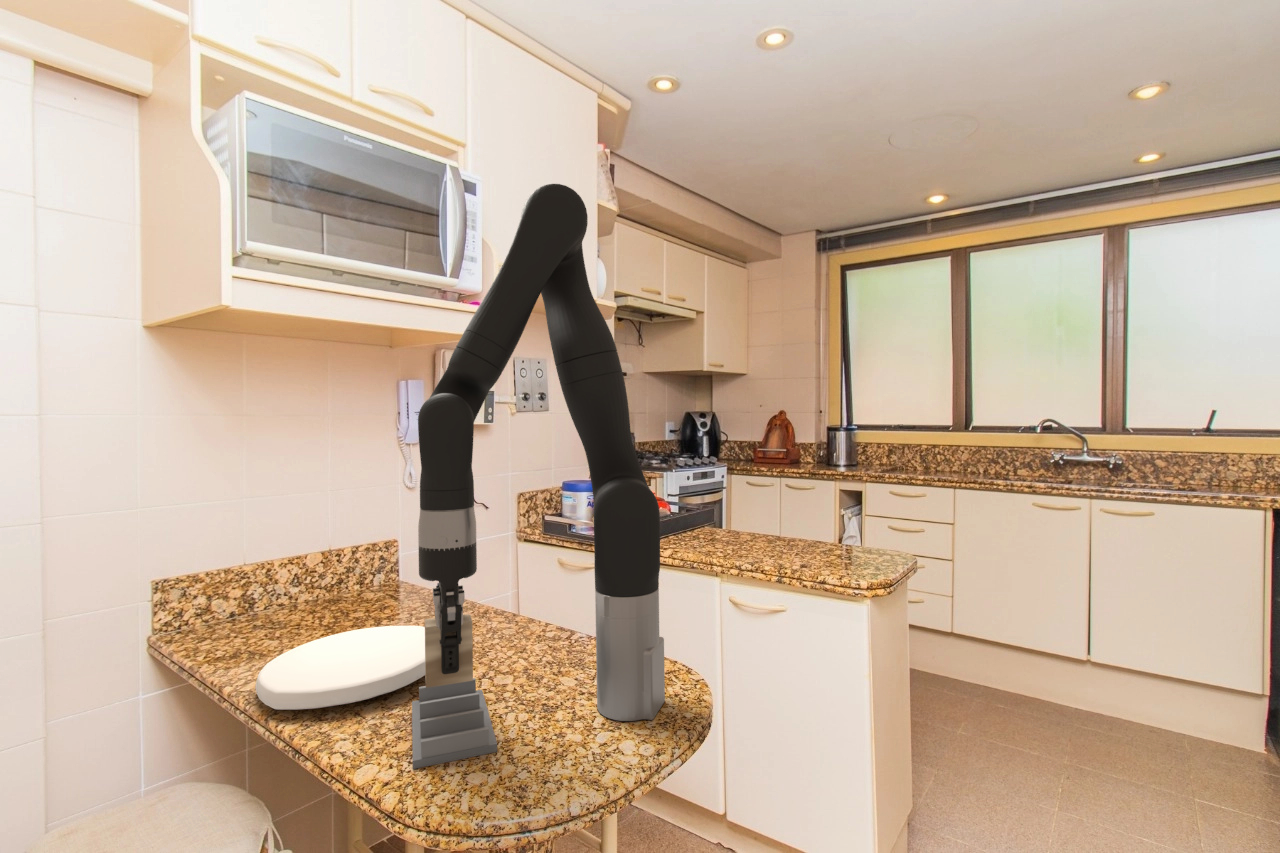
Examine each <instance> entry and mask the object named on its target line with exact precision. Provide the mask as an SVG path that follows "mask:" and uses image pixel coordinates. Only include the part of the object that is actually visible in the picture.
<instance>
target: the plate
mask: <svg viewBox="0 0 1280 853" xmlns="http://www.w3.org/2000/svg"><path fill="white" fill-rule="evenodd" d="M424 676H425V626H422V625H421V626H420V625H387V626H386V625H384V626H383V625H382V626H375V627H373V626H372V627H367V628H366V627H365V628H360V629H353V630H347V631H343V632H339V633H335V634H331V635H328V636H324V637H321V638H317V639H314V640H312V641H308V642H305V643H304V644H301V645H298V646H296V647H294V648H292V649H290V650H288V651H286V652H283V653H282V654H279V655H278V656H277V657H274V658H273V659H272V660H270V661H269V662H267V663H266V664H265V665H264V666H263V667H262V669H261V670H260V671H259V672H258V675H257V678H256V681H255V693H256V695H257V698H258V699H259V700H260V701H261V702H262V703H263V704H264V705H266V706H267V707H270V708H272V709H274V710H276V711H278V710H282V711H283V710H286V711H287V710H289V711H290V710H291V711H292V710H293V711H294V710H295V711H296V710H297V711H298V710H311V709H320V708H327V707H333V706H339V705H340V706H341V705H347V704H352V703H356V702H361V701H364V700H369V699H373V698H375V697H379V696H381V695H385V694H389V693H391V692H394V691H397V690H399V689H401V688H403V687H406V686H408V685H410V684H412V683H414V682H415V681H417V680H419V679H421V678H423V677H424Z"/></svg>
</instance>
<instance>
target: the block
mask: <svg viewBox="0 0 1280 853" xmlns="http://www.w3.org/2000/svg"><path fill="white" fill-rule="evenodd" d="M440 620H441V618H440ZM424 627H425V675H424V676H425V678H424V679H425V680H424V681H425V686H426V688H428V687H435V686H441V685H448V684H454V683H461V682H467V681H473V678H474V668H473V667H474V666H473V663H474V661H473V658H474V657H473V654H474V651H473V647H474V645H473V619H472V617H471V614H470V613H469V614H468V613H467V614H463V625H462V626H461V637H462V641H461V644H459V671H458V672H456V673H451V674H443V673H442V669H441V645H440V644H439V640H440V629H439V628H437V626H436V619H435V617H434V618H424ZM451 635H456V631H452V632H446V633H445V636H451Z"/></svg>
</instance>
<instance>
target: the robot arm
mask: <svg viewBox="0 0 1280 853" xmlns="http://www.w3.org/2000/svg"><path fill="white" fill-rule="evenodd" d="M525 200H526V201H525V203H524V205H523V207H522V210H521V216H520V219H519V223H518V226H517V229H516V233H515V234H514V237H513V240H512V242H511V245H510V247H509V250H508V252H507V255H506V256H505V259H504V261H503V263H502V265H501V267H500V269H499V270H498V273H497V274H496V277H495V279H494V280H493V282H492V284H491V285H490V287H489V290H488V291H487V293H486V294H485V296H484V297H483V299H482V301H481V303H480V305H479V306H478V308H477V310H476V311H475V312H474V315H473V317H472V318H471V319H470V321H469V323H468V325H467V326H466V328H465V330H464V331H463V333H462V335H461V337H460V339H459V341H458V343H457V345H456V346H455V348H454V350H453V352H452V354H451V357H450V358H449V361H448V364H447V368H446V370H445V372H444V374H442V376H441V378H440V380H439V381H438V382H437V385H436V387H435V388H434V390H433V392H432V393H431V395H430V396H429V398H427V400H425V402H423V404H422V406H421V408H420V409H419V412H418V416H417V431H418V446H419V447H418V448H419V457H420V458H419V459H420V466H421V468H420V469H421V470H420V480H419V508H420V509H419V518H418V527H417V528H418V531H417V532H418V533H417V534H418V535H417V536H418V537H417V538H418V541H417V542H418V575H419V577H420V578H421V579H422V580H425V581H428V582H436V581H437V584H436V586H435V587H433V588H432V599H433V600H432V602H433V605H434V618H435V619H436V626H437V628H439V629H440V640H439V644H440V645H441V669H442V673H443V674H451V673H456V672H458V671H459V644H461V641H462V637H461V626H462V625H463V615H464V603H465V600H466V598H465V590H464V586H463V585H459V581H461V580H462V579H468V578H469V577H472V576H473V575H475V574H476V573H477V570H478V568H477V567H478V566H477V564H478V563H477V561H478V560H477V552H478V551H477V519H476V518H477V517H476V514H475V485H474V484H475V483H474V474H473V466H472V465H473V455H474V454H473V453H474V451H473V450H474V430H475V429H474V428H475V421H476V419H477V417H478V414H479V413H480V410H481V409H482V406H483V404H484V403H485V400H486V397H487V396H488V394H489V392H490V390H491V389H492V388H493V387H494V386H495V385H496V383H497V382H498V380H499V379H500V377H501V375H502V373H503V372H504V371H505V368H506V367H507V364H508V363H509V361H510V359H511V358H512V356H513V353H514V351H515V349H516V347H517V345H518V343H519V341H520V339H521V337H522V335H523V333H524V331H525V329H526V327H527V324H528V323H529V322H528V321H529V319H530V317H531V314H532V313H533V310H534V307H535V305H536V303H537V302H538V299H539V297H540V295H541V297H542V301H543V306H544V310H545V311H544V312H545V318H546V325H547V331H548V335H549V336H548V337H549V341H550V347H551V351H552V355H553V356H552V357H553V362H554V365H555V369H556V373H557V377H558V380H559V384H560V388H561V391H562V392H561V393H562V395H563V398H564V401H565V403H566V406H567V409H568V413H569V414H570V415H569V416H570V417H571V421H572V422H573V425H574V428H575V429H576V432H577V434H578V437H579V439H580V440H581V444H582V447H583V449H584V452H585V456H586V460H587V465H588V469H589V470H588V472H589V476H590V484H591V487H592V495H593V496H592V499H593V538H594V539H593V540H594V541H593V544H594V546H593V548H594V552H593V553H594V588H595V589H594V592H595V594H594V595H595V597H594V598H595V649H596V650H595V653H596V654H595V657H596V662H595V663H596V705H597V706H596V708H597V711H598V712H599V714H600V715H602V716H603V717H604V718H607V719H611V720H614V721H621V722H633V721H634V722H636V721H640V720H650V721H651V720H654V718H655V717H656V715H657V714H658V712H659V711H660V709H661V708H662V706H663V704H665V702H666V696H665V695H666V691H665V690H666V689H665V688H666V687H665V686H666V684H665V678H666V677H665V638H664V636H660V594H659V593H660V591H659V590H660V589H659V586H660V585H659V584H660V582H659V580H660V578H659V577H660V569H661V516H660V515H661V514H660V506H659V502H658V499H657V497H656V495H655V494H654V493H653V491H652V490H651V488H650V487H649V485H648V482H647V480H646V478H645V477H646V476H645V475H644V473H643V470H642V468H641V467H642V466H641V464H640V460H639V458H638V455H637V452H636V449H635V446H634V442H633V438H632V431H631V421H630V410H629V403H628V402H629V401H628V394H627V388H626V387H627V386H626V382H625V378H624V377H625V376H624V373H623V368H622V364H621V360H620V358H619V353H618V348H617V346H616V342H615V339H614V337H613V334H612V332H611V329H610V327H609V326H608V323H607V321H606V319H605V318H604V316H603V314H602V312H601V310H600V308H599V305H597V302H596V300H595V298H594V296H593V293H592V290H591V287H590V284H589V280H588V275H587V269H586V264H585V257H584V251H583V241H584V238H585V236H586V232H587V229H588V218H589V217H588V211H587V208H586V204H585V202H584V201H583V199H582V197H581V196H580V194H578V192H577V191H575V190H574V188H571V187H569V186H567V185H565V184H560V183H549V184H544V185H542V186H540V187H538V188H536V189H535V190H534V191H533V192H532V193H531V194H529V196H528V197H527V199H525ZM440 618H441V620H440ZM452 631H456V635H451V636H445V633H446V632H452Z"/></svg>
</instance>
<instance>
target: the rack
mask: <svg viewBox="0 0 1280 853" xmlns="http://www.w3.org/2000/svg"><path fill="white" fill-rule="evenodd" d="M476 681H477V680H476V677H473V681H467V682H461V683H454V684H448V685H441V686H435V687H428V688H426V685H422V686H418V697H419V698H418V700H413V701H411V718H412V719H411V721H412V722H411V726H412V728H411V729H412V730H411V731H412V734H411V735H412V737H411V738H412V740H411V742H412V770H415V769H420V768H426V767H430V766H435V765H439V764H444V763H449V762H455V761H459V760H463V759H469V758H474V757H477V756H483V755H487V754H488V755H489V754H493V753H497V752H498V743H497V738H496V734H495V731H494V728H493V724H492V720H491V716H490V713H489V710H488V706H487V702H486V699H485V695H484V690H483V689H478V690H476V689H477V685H476V684H477V682H476Z"/></svg>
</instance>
